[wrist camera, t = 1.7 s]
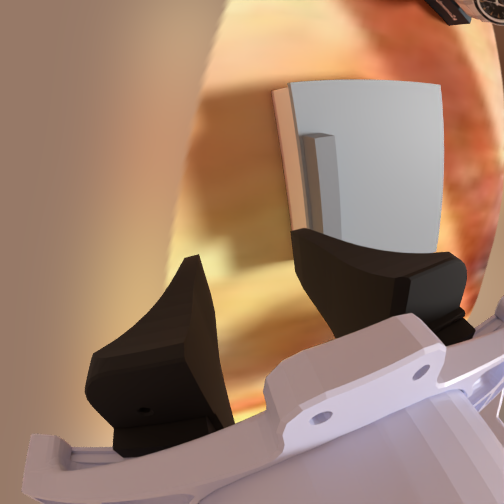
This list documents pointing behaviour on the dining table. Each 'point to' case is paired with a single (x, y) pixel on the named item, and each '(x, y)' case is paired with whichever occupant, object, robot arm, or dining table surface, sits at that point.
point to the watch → (469, 11)
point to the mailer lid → (371, 161)
